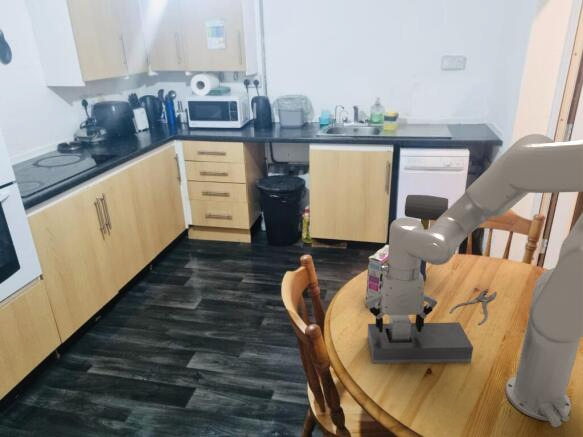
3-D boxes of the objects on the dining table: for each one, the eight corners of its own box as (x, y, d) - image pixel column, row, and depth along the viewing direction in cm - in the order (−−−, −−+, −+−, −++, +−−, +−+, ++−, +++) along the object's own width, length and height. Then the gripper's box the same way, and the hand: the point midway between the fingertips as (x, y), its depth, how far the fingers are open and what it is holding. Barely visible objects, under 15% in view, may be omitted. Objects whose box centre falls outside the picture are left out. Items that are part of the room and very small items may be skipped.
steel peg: (408, 351, 110) (411, 322, 106) (391, 352, 110) (393, 322, 106) (404, 340, 114) (406, 311, 110) (387, 341, 114) (389, 312, 110)
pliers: (448, 314, 125) (465, 283, 140) (447, 317, 125) (464, 285, 140) (484, 325, 120) (497, 291, 135) (483, 327, 120) (497, 293, 135)
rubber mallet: (398, 284, 141) (404, 198, 130) (401, 273, 147) (408, 190, 136) (438, 291, 137) (448, 202, 125) (440, 279, 143) (450, 194, 132)
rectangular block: (470, 362, 107) (473, 347, 105) (373, 363, 108) (374, 348, 106) (457, 336, 116) (459, 322, 114) (367, 337, 117) (368, 323, 115)
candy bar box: (380, 311, 128) (382, 262, 122) (365, 305, 131) (367, 257, 124) (397, 294, 136) (401, 247, 129) (383, 289, 139) (385, 243, 132)
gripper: (369, 278, 100) (366, 338, 106) (445, 276, 99) (437, 337, 106) (364, 262, 107) (362, 320, 113) (435, 261, 106) (429, 319, 113)
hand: (399, 328), depth 109 cm, fingers open, 9 cm apart
